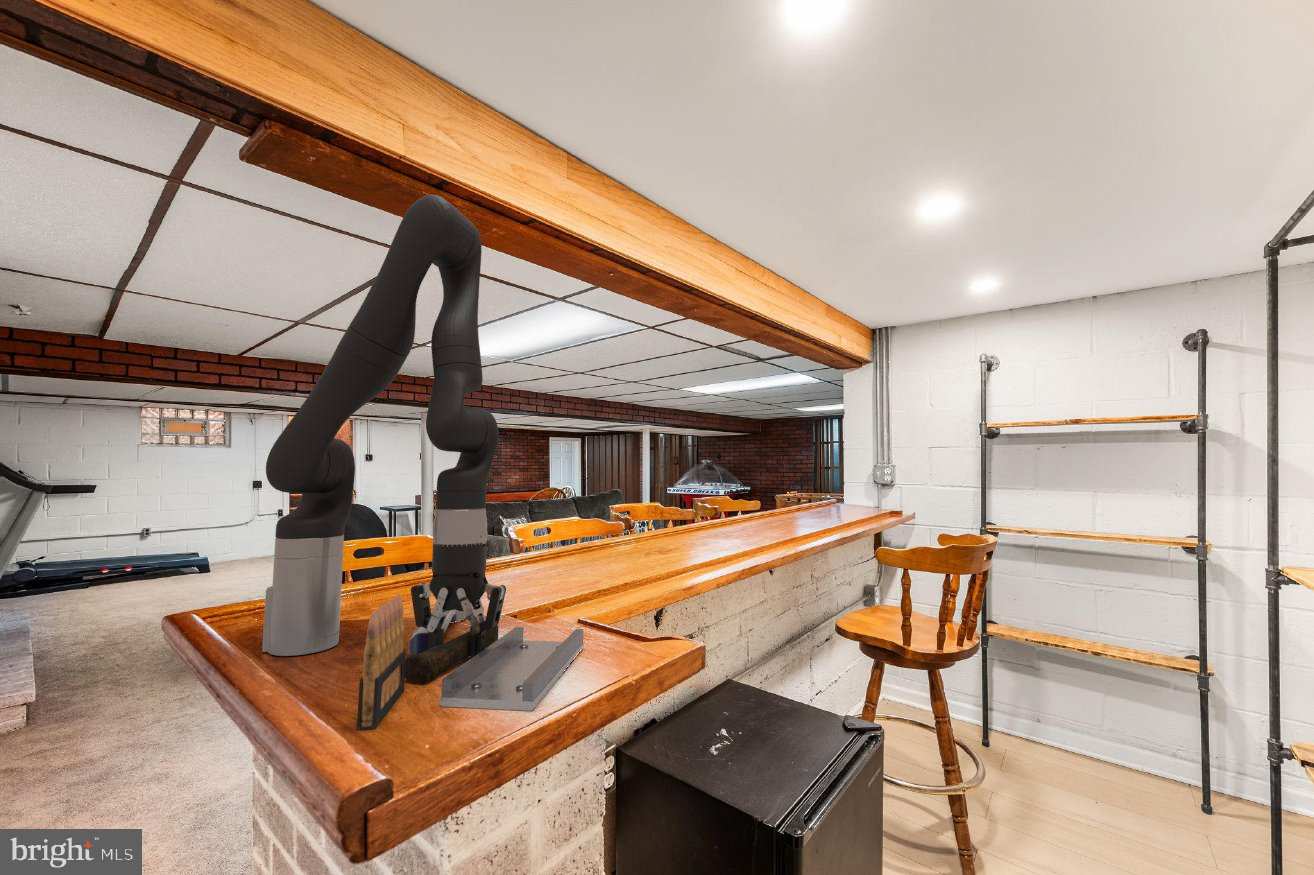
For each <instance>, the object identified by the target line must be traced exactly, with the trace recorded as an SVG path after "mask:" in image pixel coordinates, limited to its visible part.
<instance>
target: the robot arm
mask: <svg viewBox="0 0 1314 875" xmlns="http://www.w3.org/2000/svg"><path fill="white" fill-rule="evenodd" d="M432 265H433V266H434V267H437V268H438V272H439V274H440V279H441V283H442V288H443V289H442V290H443V291H442V292H443V297H442V298H443V300H442V304H441V308H440V310H439V313H438V315H437V318H436V319H435V322H434V324H433V328H432V333H431V340H430V341H431V344H430V345H431V347H430V348H431V358H432V359H431V360H432V369H433V372H432V373H433V383H432V387H431V388H432V389H431V393H430V398H429V403H428V409H427V414H426V418H425V430H426V435H427V437H428V439H429V441H430V442H431V444H432V446H433V447H435V448H436V449H437V450H439V451H443V452H449V453H450V452H452V453H460V455H459V458H458V460H457V463H456V465H455V466H454V467H450V468H447V469H444V470H442V471H441V472H440V473H438V477H437V480H436V491H435V492H436V493H435V495H436V496H435V498H436V499H435V516H434V518H433V519H434V520H433V528H432V552H431V553H432V555H431V571H432V578H431V580H430V582H427V583H426V582H421V583H418V584H415V585H413V586H411V588H410V594H411V602H412V610H413V616H414V622H415V626H416V628H417V627H423V628H426V629H427V630H428V632H429V639H428V650H429V649H431V648H433V647H435V646H437V645H441V644H443V643H445V642H444V640H445V633H444V629H442V626H443V624H444V622H445V619H446V617H447V615H448V614H449V612H450V611H451V610H458V611H464V613H465V616H466V619H467V620H468V621H469V625H470V626H471V628H472V631H473V633H472V634H471V649H470V657H469V658H470V659H472V658H473V657H474V656H476V655H477V654H479V653H480V652H481V651H483V650H484V649H485V633H486V630H490V629H491V628H493V627H494V626H496V625H498V626H499V623H500V619H501V616H502V611H503V607H504V601H505V596H506V593H507V592H506V591H507V586H506V585H504V584H500V585H496V584H493V583H492V584H491V583H489V581H488V579H487V577H486V570H487V543H488V542H487V540H488V536H489V534H488V519H487V481H488V478H489V475H490V471H491V469H492V464H493V461H494V458H495V455H496V451H497V448H498V443H499V435H500V434H499V433H500V432H499V431H500V430H499V426H498V425H499V424H498V422H497V420H496V418H495V416H494V415H493V414H492V412H490V411H489V410H486V409H485V408H480V407H479V408H478V407H475V406H474V407H473V406H468V405H465V398H466V397H465V396H466V394H472V393H474V392H477V391H479V389H480V388H481V387H482V385H483V382H484V381H483V377H484V376H483V368H482V357H481V355H482V354H481V348H480V337H479V299H480V282H481V281H480V279H481V278H480V277H481V267H482V266H481V265H482V238H481V234H480V231H479V230H478V228H477V227H476V226H475V224H474V223H473V222H472V221H470V219H468V218H467V216H465V214H463V213H462V212H460V210H458V209H457V208H456V207H455V206H454V205H453V204H451V203H450V202H449V201H448V200H446V199H445V198H444V197H442V196H440V195H438V194H426V195H424V196H422V197H420V198H418V199H417V200H416V201H414V202H413V203H412V204H411V206H410V207H409V208H408V209H407V211H406V212H405V214H404V216H403V217H402V220H401V222H400V223H399V226H398V228H397V230H396V233H395V235H394V237H393V239H392V241H391V244H390V246H389V249H388V251H387V254H386V255H385V259H384V260H383V262H382V265H381V267H380V269H379V271H378V273H377V275H376V277H375V279H374V281H373V283H372V285H371V286H370V288H369V290H368V292H367V294H366V296H365V298H364V300H363V302H362V304H361V306H359V309H358V310H357V311H356V312H357V313H356V314H355V316H354V317H353V318H352V320H351V321H350V323H349V326H348V327H347V328H346V330H345V332H344V334H343V336H342V337H341V339H340V341H339V343H338V344H337V346H336V348H335V351H334V352H333V354H332V356H331V358H330V360H329V361H328V363H327V364H326V366H325V368H324V370H323V371H322V373H321V375H320V376H319V378H318V380H317V381H316V383H315V385H314V386H313V388H312V389H311V391H310V393H309V394H308V396H307V397H306V399H305V400H304V401H303V403H302V405H301V406H300V407H299V409H298V410H297V412H296V413H295V414H294V415H293V417H292V418H291V420H290V421H289V422H288V424H287V425H286V426H285V428H284V429H283V430H282V431H281V433H280V434H279V436H278V437H277V439H276V440H275V442H274V443H273V445H272V447H271V449H270V451H269V453H268V456H267V459H266V461H265V475H266V478H267V481H268V483H269V484H270V485H271V487H272V488H273V489H275V490H277V491H279V492H282V493H288V494H290V493H291V494H301V499H300V501H299V504H298V506H297V507H296V508H295V509H293V511H291V512H290V513H288V514H286V515H284V516H283V517H280V518H279V519H278V520H277V522H276V525H275V536H274V537H275V539H274V540H275V541H274V554H273V557H274V558H273V569H272V570H273V571H272V584H271V586H269V587H267V588H266V590H265V601H264V612H263V613H264V615H263V632H262V646H261V648H262V650H261V652H262V653H263V652H264V653H268V654H269V655H273V656H279V657H289V656H301V655H308V654H314V653H319V652H323V651H326V650H329V649H331V648H333V647H335V646H337V645H339V642H340V639H339V638H340V625H341V624H340V623H341V622H340V621H341V605H342V604H341V603H342V584H343V582H342V581H343V562H344V561H343V560H344V543H345V542H344V540H345V527H346V524H347V522H348V520H349V518H350V515H351V511H352V506H353V505H352V504H353V495H354V486H355V475H356V463H355V462H356V461H355V456H354V452H353V450H352V449H351V446H349V444H348V443H347V442H345V441H344V440H342V439H340V438H336V435H337V434H338V433H339V432H340V430H341V428H342V427H343V425H344V424H345V423H346V422H347V421H348V420H349V418H351V417H352V415H353V414H355V413H357V411H358V410H360V409H361V408H362V407H364V406H365V405H366V404H368V403H369V402H370V401H371V400H373V399H374V398H376V396H378V395H380V393H382V392H383V391H384V390H385V389H386V388H387V387H389V386H390V385H391V384H392V382H394V380H395V378H396V377H397V376H398V374H399V372H400V370H401V368H402V367H403V366H404V363H405V361H406V360H407V358H408V356H409V355H410V353H411V350H412V348H413V346H414V343H415V342H414V341H415V338H416V337H415V336H416V320H417V319H416V318H417V317H416V315H417V313H416V312H417V309H416V307H417V299H418V295H419V291H420V288H421V285H422V282H423V281H424V279H425V277H426V275H427V273H428V272H429V269H430V267H431V266H432ZM485 593H486V598H487V600H489V602H488V607H487V611H486V614H485V613H484V612H485V608H484V606H483V603H482V600H481V598H482V596H484V594H485ZM431 594H432V595H433V597H434V598H435V600H436V601H435V604H434V606H433V608H431V602H430V601H431V600H430V597H431ZM485 615H486V616H485ZM470 659H469V660H470Z"/></svg>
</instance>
